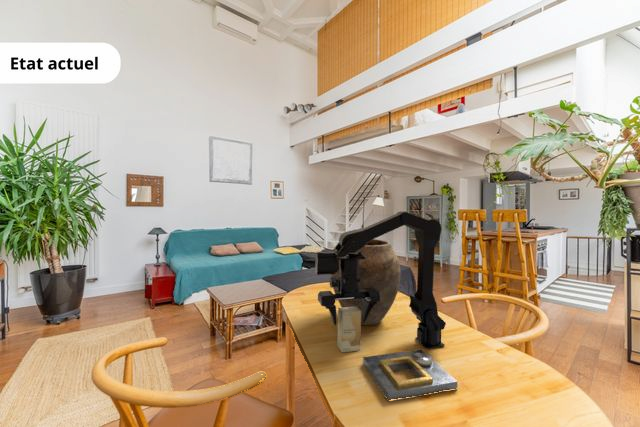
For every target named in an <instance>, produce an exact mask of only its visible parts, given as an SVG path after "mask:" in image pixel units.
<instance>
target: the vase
mask: <svg viewBox="0 0 640 427" xmlns="http://www.w3.org/2000/svg"><path fill="white" fill-rule="evenodd" d="M359 251H361V253H362V254H363V256H365V257H366V259H359V278H360V282H359V292H362V290H363V288H370V287H373V288H375V289H376V290H378V291H379V292H380V293H381V301H378V302H377V304H375V305H374V306H373V308H372V309H371V311H370V313H369V315H368V317H367V319H366V321H365V323H363V322H362V306H363V303H362V298H359V299H348V300H337V301H338V303H339V305H340V308H344V307H355V306H356V307H357V308H358V309H359V310H360V311H361V326H362V325H363V326H364V325H365V326H375V325H378V324H380V323H381V322H382V321H383V320H384V318H385V317H386V316H387V314H388V313H389V311H390V309H391V307H392V306H393V304H394V303H395V300H396V297H397V294H398V292H399V288H400V284H401V283H400V282H401V272H402V271H401V265H400V260H399V258H398V256H397V254H396V252H395V250H394V249H393V247H392V245H391V243H390V242H389V241H387V240H383V239H377V238H375V239H372V240H371V241H369V242H368V243H367V244H366V245H365V246H364V247H363V248H361V249H360V250H359ZM354 253H356V252H354ZM339 275H340V260H339V270H338V271H337V272H336V273H335V274H330V278H331V277H336V278H337V280H339ZM332 289H333V292H334V294H340V292H338V291H337V290H336V288H335V287H333V288H332Z"/></svg>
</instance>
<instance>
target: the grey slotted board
mask: <svg viewBox="0 0 640 427" xmlns="http://www.w3.org/2000/svg"><path fill="white" fill-rule="evenodd" d="M362 365H363V367H364V368H365V369H366V371H367V370H368V371H367V373H368V374H369V373H370V374H369V375H370V377H371V376H372V377H371V379H372V380H373V379H374V380H373V382H374V383H375V382H376V383H377V384H376V383H375V384H376V386H377V385H378V386H379V387H380V389H381V390H382V392H383V393H384V395H385V396H386V397H387V399H388V400H391V399H398V398H406V397H412V396H419V395H424V394H429V393H434V392H439V391H443V390H450V389H456V388H457V389H458V381H457V379H455V378H454V377H453V376H452V375H450V373H448V372H447V371H446V370H445V369H444V368H443V367H442V366H441V365H439V364H438V363H437V362H436V361H435V360H434V359H433V357H432V355H430V354H428V353H426V352H424V350H422V349H421V348H420V349H414V350H413V349H412V350H407V351H400V352H391V353H386V354H385V353H384V354H378V355H369V356H364V357H362ZM407 370H408V371H409V372H410V373H411V374H412V375H413V376H414V377H415V378H411V379H405V380H400V379H399V377H398V376H397V375H396V374H395V373H394V372H398V371H399V372H400V371H407ZM378 386H377V387H378ZM379 387H378V388H379ZM380 389H379V390H380ZM381 390H380V391H381ZM382 392H381V393H382ZM383 393H382V394H383ZM384 395H383V396H384ZM385 396H384V397H385ZM419 397H420V396H419ZM387 399H386V400H387Z"/></svg>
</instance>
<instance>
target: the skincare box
mask: <svg viewBox="0 0 640 427" xmlns="http://www.w3.org/2000/svg"><path fill="white" fill-rule="evenodd" d="M361 329H362V324H361V311H360V310H359V309H358V308H357V307H356V306H355V307H344V308H342V307H338V308H337V339H336V341H337V343H336V344H337V348H338V349H339V351H340V352H341V353H349V352H355V351H356V352H357V351H361V333H362V332H361Z"/></svg>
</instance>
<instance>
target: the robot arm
mask: <svg viewBox="0 0 640 427" xmlns="http://www.w3.org/2000/svg"><path fill="white" fill-rule="evenodd" d="M403 226H405V227H407V228H410V229H412V230H414V238H415V239H416V243H417V245H418V255H417V256H418V258H417V276H416V277H417V279H416V280H417V282H416V291H415V293H414V294H410V295H409V301H410V302H409V305H408V307H409V308H410V310H411V312H412V314H414V316H415V317H416V319H417V320H418V321H419V322H418V323H417V325H418V327H417V329H416V337H415V340H416V341H417V342H418V343H419V344H420V345H421V346H423V348H424V349H427V350H429V349H436V348H442V347H445V344H444V343H443V342H442V331H443V330H445V327H446V325H447V324H446V321H444V319H442V317H440V316H439V310H438V304H437V302H436V301H437V300H436V299H435V295H434V279H435V278H434V273H435V253H436V252H435V251H436V246H437V245H438V244H439V241H441V240H440V239H441V234H442V229H443V228H442V224H441V223H440V222H439V221H438V220H437V219H432V218H424V217H421V216H418V215H414V214H412V213H411V212H410V211H404V210H403V211H401V210H400V211H397V213H395V214H393V215H390V216H388V217H387V218H384V219H382V220H379V221H377V222H374V223H373V224H371V225H368V226H366V227H363V228H358V229H352V230H348V231H345V232H342V233H341V234H340V235H339V238H338V242H337V244H336V245H335V246H334V248H333V249H332V251H325V252H324V251H317V252H316V257H315V261H314V262H315V274H316V275H320V276H324V275H325V276H326V275H331V274H335V273H336V272H337V271H338V270H339V260H340V275H339V280H337V278H336V277H331V276H330V277H329V287H330V288H332V289H333V287H335V288H336V290H337V291H338V292H340V294H335V293H333V292H332V290H322V291H319V292H318V293H317V301H318V302H319V304H320V305H321V307H324V308H325V309H326V310H327V309H328V311H329V314H330V318H331V320H332V323H333V325H334V327H336V326H337V323H338V320H337V306H336V305H335V303H336V301H338V300H348V299H359V298H362V303H363V306H362V322H363V323H365V321H366V319H367V317H368V315H369V313H370V311H371V309H372V308H373V306H374V305H375V304H377V302H378V301H381V293H380V292H379V291H378V290H376V289H375V288H373V287H370V288H363V290H362V292H359V282H360V278H359V259H366V257H365V256H363V254H362V253H361V251H359V250H360V249H361V248H363V247H364V246H365V245H366V244H367V243H368V242H369V241H371V240H372V239H377V238H379V237H381V236H383V235H386V234H388V233H390V232H392V231H395V230H397V229H399V228H401V227H403ZM354 252H356V253H354Z"/></svg>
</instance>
